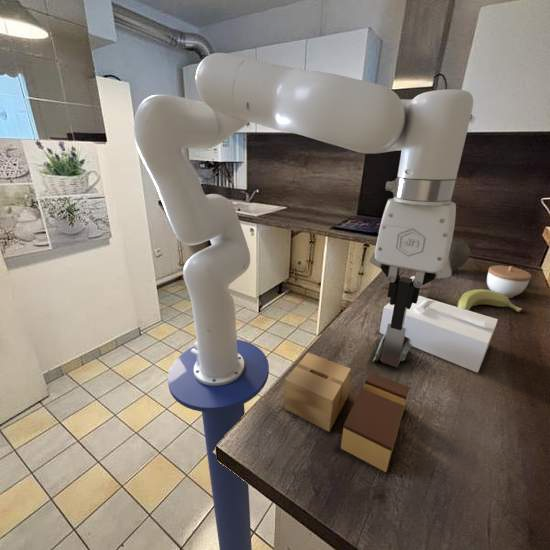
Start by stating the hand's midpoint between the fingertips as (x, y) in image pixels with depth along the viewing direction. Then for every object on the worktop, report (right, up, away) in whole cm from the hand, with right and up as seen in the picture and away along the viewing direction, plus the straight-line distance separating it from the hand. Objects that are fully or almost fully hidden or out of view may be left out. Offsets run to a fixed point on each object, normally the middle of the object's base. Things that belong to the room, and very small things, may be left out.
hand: (401, 302), depth 49 cm
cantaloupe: (+56, +14, +79) cm, 98 cm away
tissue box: (+24, -14, +34) cm, 44 cm away
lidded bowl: (+65, -2, +61) cm, 89 cm away
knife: (0, -12, +5) cm, 13 cm away
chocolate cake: (+9, -17, +27) cm, 33 cm away
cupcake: (+30, -4, +58) cm, 65 cm away
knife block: (-12, -23, +13) cm, 29 cm away
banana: (+51, -7, +50) cm, 72 cm away
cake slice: (+1, -23, +12) cm, 26 cm away
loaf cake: (-3, -26, +5) cm, 27 cm away
